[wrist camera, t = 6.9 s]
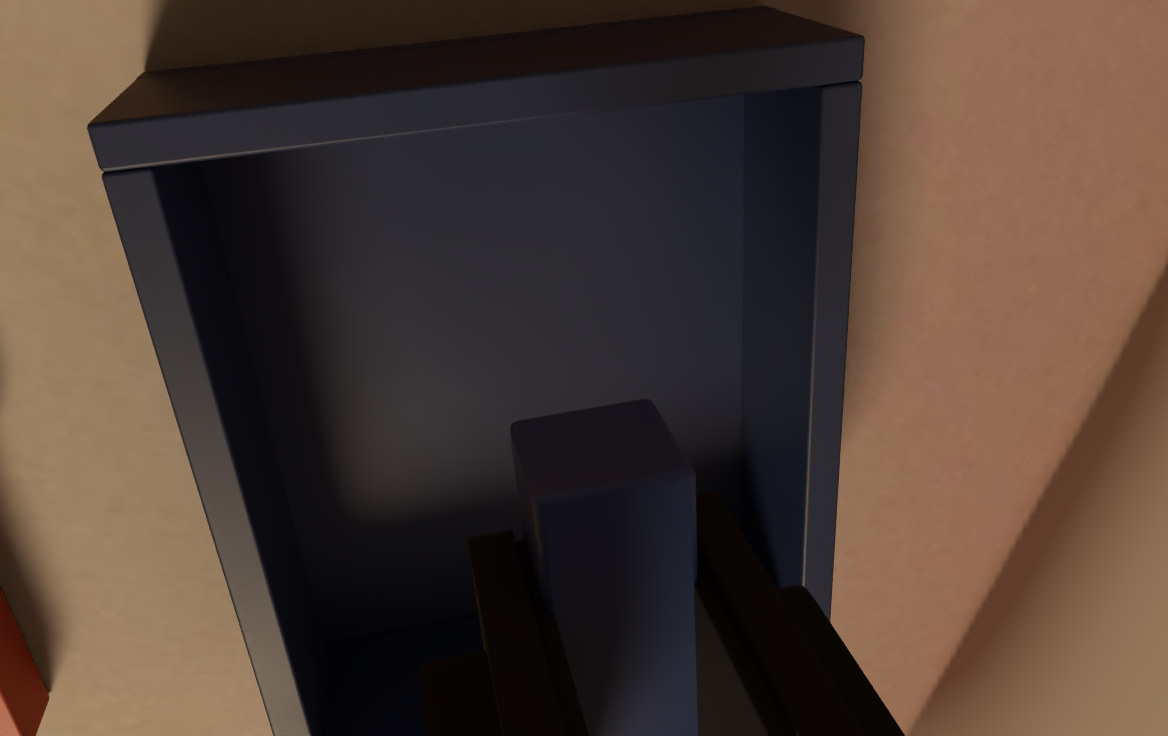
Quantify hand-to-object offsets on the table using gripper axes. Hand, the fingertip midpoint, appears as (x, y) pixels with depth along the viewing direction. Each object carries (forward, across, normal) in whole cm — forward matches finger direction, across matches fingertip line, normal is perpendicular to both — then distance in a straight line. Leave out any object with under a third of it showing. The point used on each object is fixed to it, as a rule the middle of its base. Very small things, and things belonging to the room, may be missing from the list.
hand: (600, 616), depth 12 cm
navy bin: (+10, 0, +1) cm, 10 cm away
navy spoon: (0, 0, +2) cm, 2 cm away
